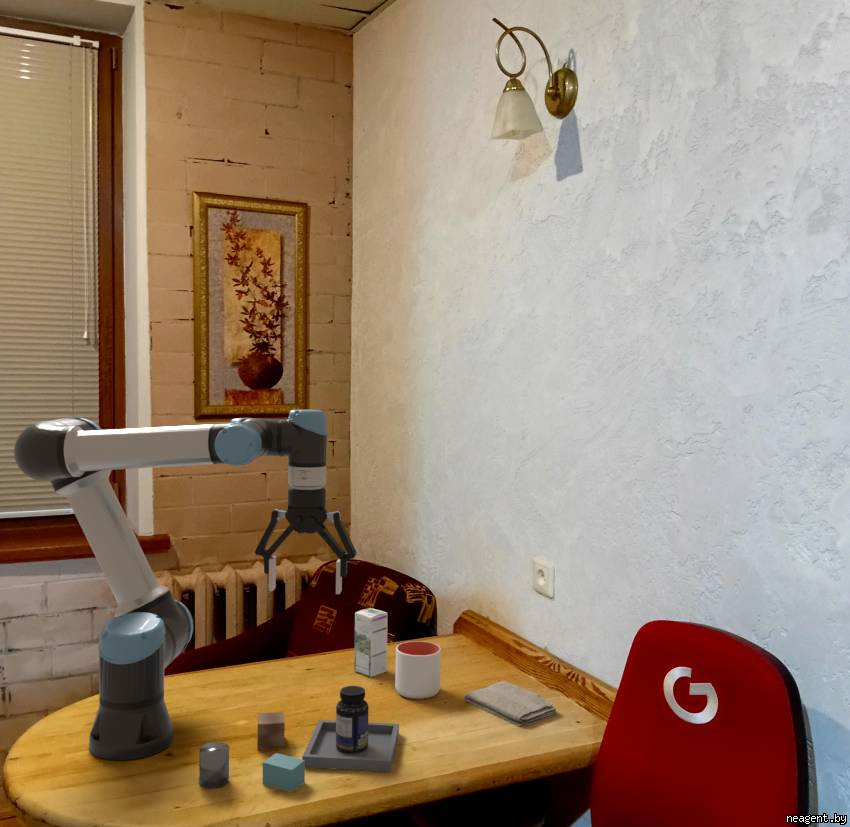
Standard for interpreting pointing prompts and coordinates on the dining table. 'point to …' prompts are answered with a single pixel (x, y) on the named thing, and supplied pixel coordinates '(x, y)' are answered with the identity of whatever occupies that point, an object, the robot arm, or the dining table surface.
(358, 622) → the syrup box
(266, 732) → the walnut cube
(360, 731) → the pill bottle
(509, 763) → the dining table surface
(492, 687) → the washcloth
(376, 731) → the tray
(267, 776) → the teal block
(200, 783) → the metal cylinder
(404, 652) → the cup
